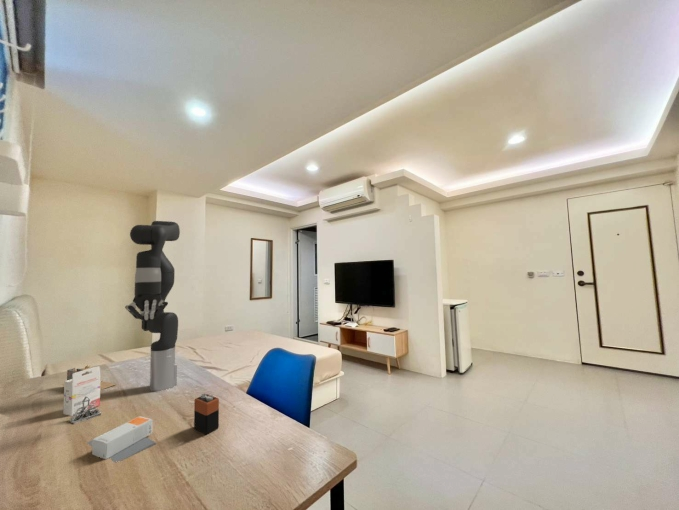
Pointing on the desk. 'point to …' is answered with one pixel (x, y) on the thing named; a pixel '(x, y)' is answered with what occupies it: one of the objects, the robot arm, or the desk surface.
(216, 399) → the battery
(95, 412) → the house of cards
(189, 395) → the desk surface
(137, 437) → the skincare box
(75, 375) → the ink cartridge box
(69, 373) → the ruin model on sheet
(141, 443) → the mat
